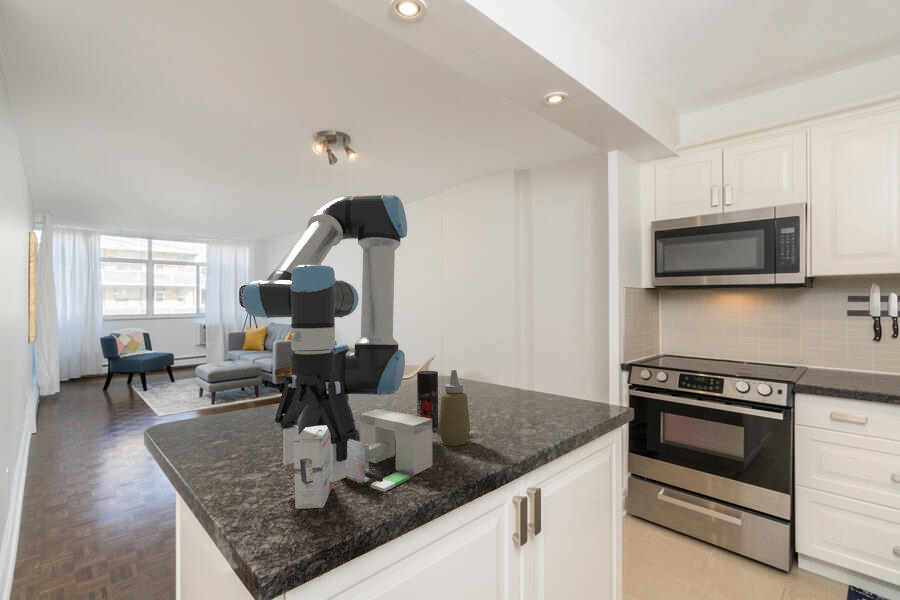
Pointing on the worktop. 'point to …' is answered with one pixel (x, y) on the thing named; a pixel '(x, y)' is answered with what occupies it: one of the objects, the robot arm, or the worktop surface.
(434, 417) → the deodorant
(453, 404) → the squeeze bottle
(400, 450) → the white and green frame
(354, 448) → the grey bar with plate
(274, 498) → the worktop surface
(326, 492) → the ink box
